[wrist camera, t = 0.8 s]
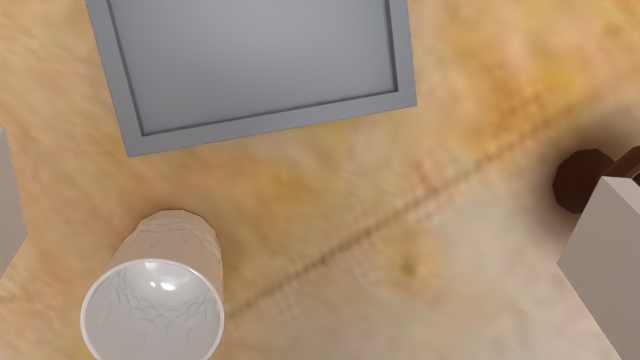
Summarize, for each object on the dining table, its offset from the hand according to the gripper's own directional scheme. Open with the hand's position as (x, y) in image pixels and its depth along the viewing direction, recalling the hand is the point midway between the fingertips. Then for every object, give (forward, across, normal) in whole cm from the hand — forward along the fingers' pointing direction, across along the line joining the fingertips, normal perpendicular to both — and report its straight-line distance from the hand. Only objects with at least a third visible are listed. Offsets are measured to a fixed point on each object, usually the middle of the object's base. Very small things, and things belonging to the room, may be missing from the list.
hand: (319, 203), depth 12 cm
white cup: (+21, +6, +20) cm, 30 cm away
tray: (+27, +2, +1) cm, 27 cm away
